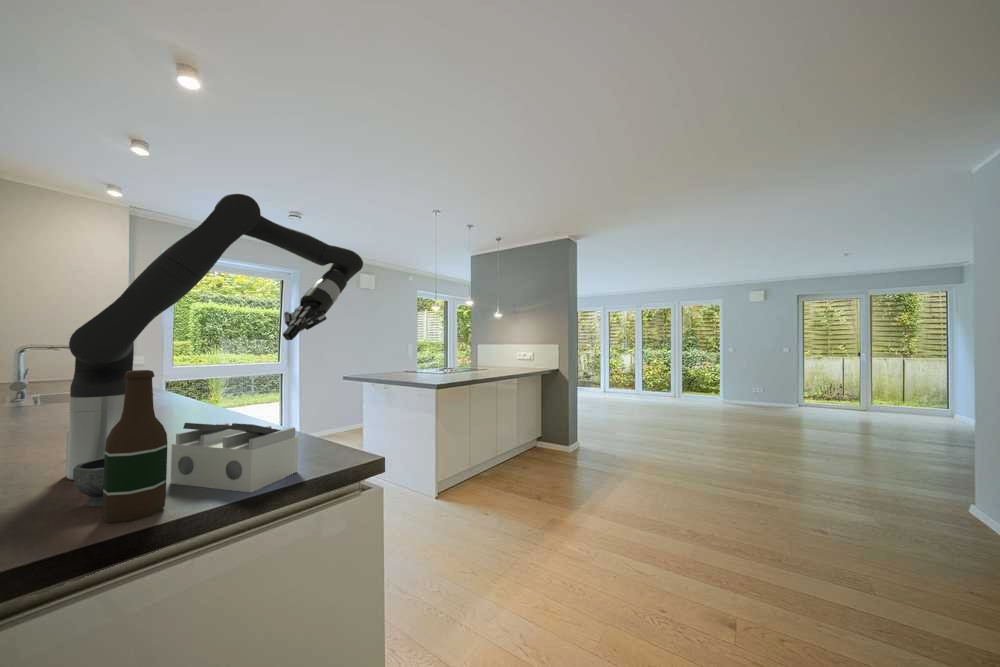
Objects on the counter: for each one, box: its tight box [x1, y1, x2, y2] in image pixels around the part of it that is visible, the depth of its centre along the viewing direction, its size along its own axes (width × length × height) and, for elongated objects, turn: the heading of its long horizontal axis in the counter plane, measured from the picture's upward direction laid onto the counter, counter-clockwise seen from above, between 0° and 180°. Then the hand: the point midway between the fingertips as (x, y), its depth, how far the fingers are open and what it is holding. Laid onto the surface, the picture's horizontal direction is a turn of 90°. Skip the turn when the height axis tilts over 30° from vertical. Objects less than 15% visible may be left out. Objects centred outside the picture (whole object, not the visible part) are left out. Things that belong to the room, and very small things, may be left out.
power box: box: [170, 422, 299, 493], centre depth 81 cm, size 20×12×10 cm, turn 77°
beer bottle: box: [102, 369, 168, 524], centre depth 64 cm, size 8×8×24 cm
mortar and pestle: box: [73, 458, 104, 508], centre depth 70 cm, size 11×9×12 cm
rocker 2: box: [231, 422, 282, 435], centre depth 80 cm, size 5×10×1 cm, turn 167°
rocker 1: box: [183, 422, 232, 431], centre depth 82 cm, size 5×10×1 cm, turn 167°
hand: (287, 337), depth 98 cm, fingers closed
